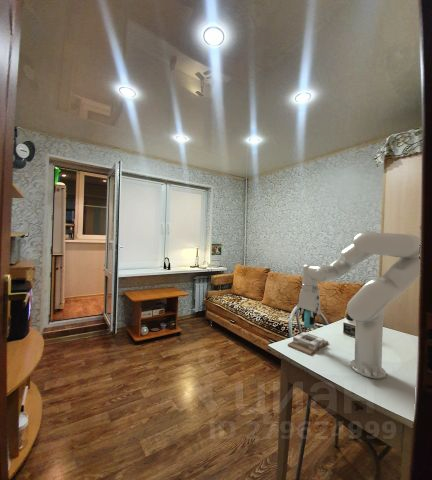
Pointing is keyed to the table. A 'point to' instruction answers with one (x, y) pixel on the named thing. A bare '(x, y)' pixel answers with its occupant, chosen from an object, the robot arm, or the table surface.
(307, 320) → the peg
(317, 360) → the table surface
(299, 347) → the socket board
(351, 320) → the medicine bottle
